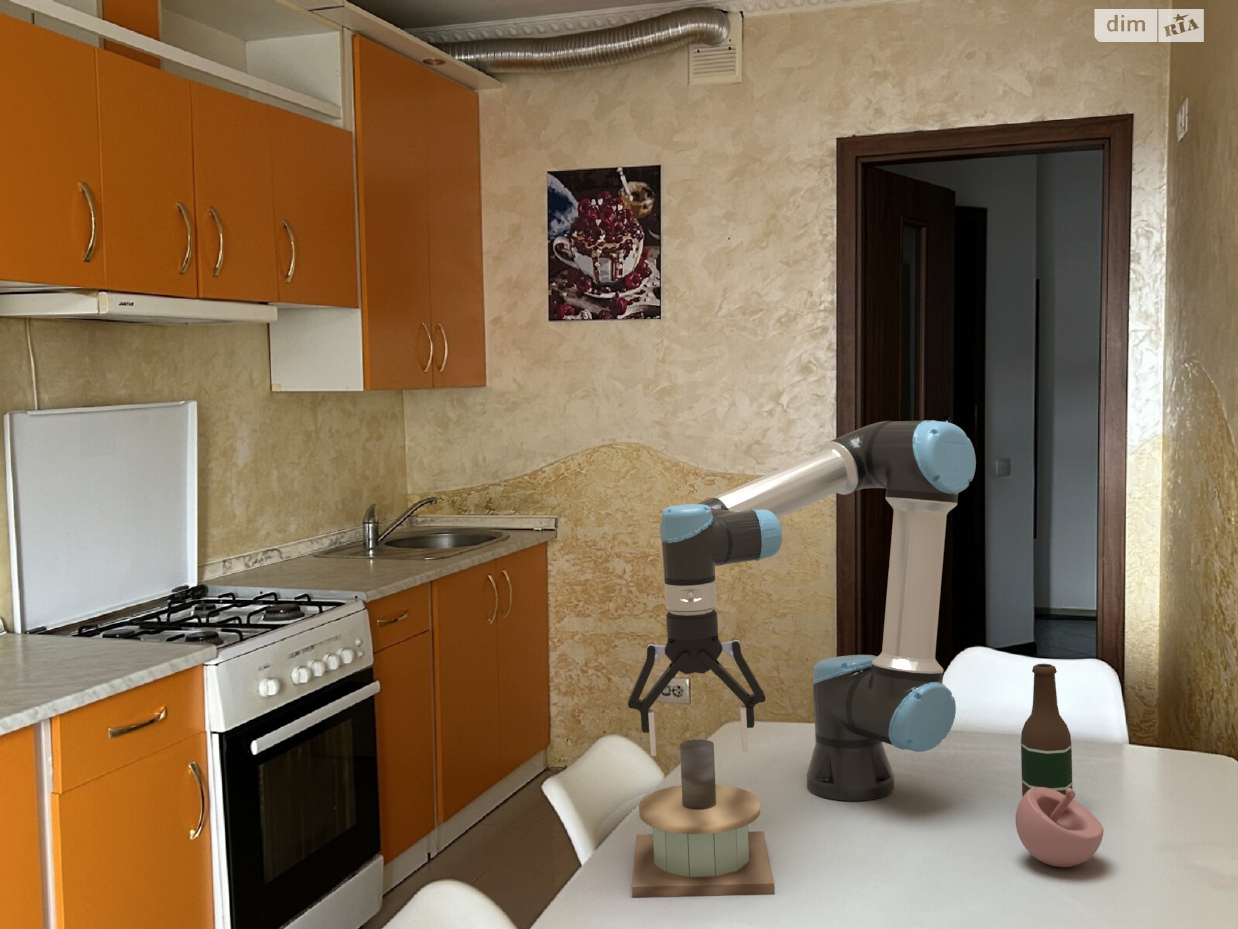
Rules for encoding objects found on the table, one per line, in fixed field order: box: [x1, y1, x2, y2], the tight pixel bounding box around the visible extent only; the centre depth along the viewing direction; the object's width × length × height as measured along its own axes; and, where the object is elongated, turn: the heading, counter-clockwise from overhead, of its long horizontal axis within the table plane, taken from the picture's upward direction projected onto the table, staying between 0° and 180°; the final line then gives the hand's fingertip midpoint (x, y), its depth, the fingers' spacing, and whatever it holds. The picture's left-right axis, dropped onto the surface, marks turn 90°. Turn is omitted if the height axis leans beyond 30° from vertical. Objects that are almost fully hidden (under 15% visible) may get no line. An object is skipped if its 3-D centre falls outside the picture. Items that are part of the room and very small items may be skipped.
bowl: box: [652, 824, 749, 877], centre depth 179 cm, size 14×14×7 cm
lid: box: [638, 738, 761, 834], centre depth 179 cm, size 18×18×10 cm
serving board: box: [631, 830, 776, 898], centre depth 180 cm, size 20×20×2 cm
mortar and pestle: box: [1015, 787, 1105, 868], centre depth 175 cm, size 12×12×12 cm
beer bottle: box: [1020, 663, 1074, 798], centre depth 196 cm, size 8×8×24 cm
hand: (699, 751), depth 179 cm, fingers open, 13 cm apart
